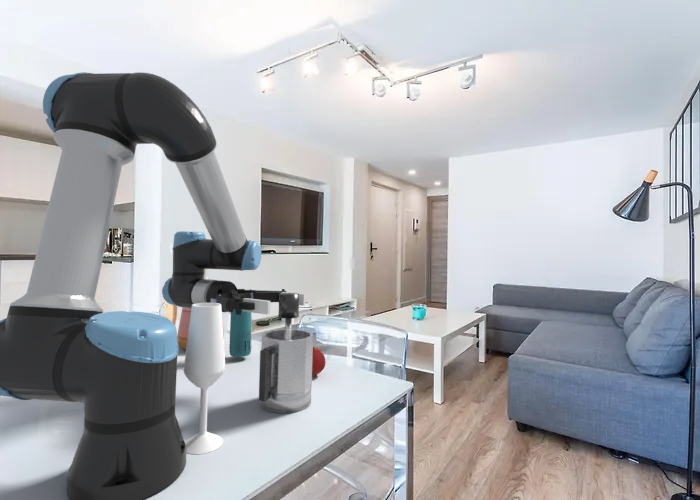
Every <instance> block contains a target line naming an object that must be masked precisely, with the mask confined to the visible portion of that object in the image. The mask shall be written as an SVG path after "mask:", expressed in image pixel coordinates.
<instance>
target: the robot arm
mask: <svg viewBox="0 0 700 500" xmlns="http://www.w3.org/2000/svg"><path fill="white" fill-rule="evenodd" d="M42 112H43V114H44V115H46V116H47V118H46V119H45V121H46V123H47V124H46V125H47V126H48V128H49V129H50V131H52V133H53V141H54V142H55V143H56V144H57V145H58V146H59V148H60V149H61V153H60V157H59V161H58V164H57V165H58V166H57V170H56V173H55V178H54V182H53V185H52V190H51V193H50V198H49V202H48V205H47V209H46V214H45V218H44V222H43V225H42V230H41V233H40V239H39V241H38V246H37V250H36V254H35V257H34V262H33V266H32V269H31V274H30V278H29V283H28V287H27V290H26V293H25V294H24V295H23V296H21V297H20V298H18V299H16V300H14V301H13V302H12V301H11V303H10V304H9V307H8V311H7V315H6V318H3V319H1V320H0V396H3V397H9V398H13V399H16V400H20V401H28V400H37V401H38V400H41V401H54V402H67V403H79V404H80V403H81V404H84V414H83V415H84V416H83V417H84V418H83V420H84V421H83V432H82V435H81V438H80V439H79V442H78V444H77V448H76V450H75V453H74V456H73V458H72V462H71V463H70V466H69V468H68V471H67V475H66V495H67V497H68V499H69V500H143V499H146V498H148V497H150V496H153V495H155V494H157V493H159V492H160V491H162V490H165V489H166V488H167V487H168V486H170V485H172V484H173V483H174V482H175V481H177V479H179V477H180V476H181V474H183V472H184V470H185V467H186V465H187V453H186V445H185V440H184V438H183V434H182V431H181V427H180V424H179V421H178V419H177V415H176V396H177V376H178V375H177V372H178V355H179V348H180V347H179V345H178V343H177V334H178V329H177V327H176V325H175V323H173V321H172V320H171V319H170V318H168V317H165V316H162V315H160V314H156V313H150V312H145V311H123V310H118V311H117V310H115V311H106V312H104V309H103V308H102V306H100V305H99V303H98V302H97V301H96V293H97V288H98V283H99V279H100V273H101V268H102V263H103V259H104V254H105V250H106V245H107V240H108V235H109V230H110V226H111V221H112V216H113V215H112V214H113V211H114V206H115V202H116V197H117V192H118V187H119V182H120V176H121V172H122V167H124V166H125V165H127V164H129V163H132V162H133V160H134V157H135V153H136V148H137V145H140V144H141V145H145V144H147V145H148V144H149V145H150V144H153V145H156V146H158V147H159V148H160V149H161V150H162V152H163V153H164V156H165V157H166V159H167V160H168V161H169V162H171V163H174V164H175V165H176V168H177V169H178V172H179V174H180V176H181V178H182V180H183V182H184V184H185V186H186V188H187V191H188V192H189V195H190V196H191V199H192V201H193V203H194V205H195V207H196V209H197V211H198V213H199V215H200V217H201V220H202V221H203V223H204V226H205V227H206V230H207V232H208V234H209V236H210V238H211V239H208V238H206V234H205V232H203V231H202V232H201V231H185V230H184V231H183V230H182V231H180V230H179V231H176V232H175V233H174V235H173V243H172V244H173V245H172V275H171V277H169V278H168V279H167V280H166V281H165V282H164V284H163V287H162V289H161V293H162V298H163V300H164V301H165V302H166V303H168V304H169V305H171V306H177V307H179V308H182V307H189V308H192V305H193V304H197V303H220V304H221V308H222V313H231V312H233V309H235V311H236V315H240V314H241V310H242V309H243V311H244V312H251V314H262V315H271V303H279V294H280V293H289V292H287V290H285V288H281V290H261V289H260V290H259V289H258V290H256V289H245V288H238V287H237V286H236V285H235V283H234V282H232V281H230V280H217V279H209V278H208V279H204V269H208V270H223V271H224V270H227V271H241V272H242V271H243V272H244V271H255V270H257V269H258V268H259V267H260V265H261V261H262V248H261V247H262V246H261V245H260V243H259V242H258V241H256V240H251V239H249V240H248V239H247V236H246V234H245V232H244V229H243V226H242V222H241V221H240V217H239V215H238V212H237V209H236V207H235V205H234V201H233V199H232V196H231V193H230V191H229V188H228V186H227V183H226V179H225V177H224V175H223V172H222V170H221V167H220V164H219V161H218V158H217V155H216V153H215V150H216V148H217V145H218V143H217V140H216V137H215V135H214V132H213V129H212V126H211V125H210V124H209V122H208V120H207V117H206V116H205V115H204V114H203V112H202V110H201V109H200V108H199V106H198V105H197V104H196V103H195V102H194V100H192V98H190V97H189V95H188V94H187V93H186V92H184V91H183V90H182V89H181V88H179V87H178V86H177V85H176V84H174V83H173V82H171V81H170V80H167V79H166V78H164V77H162V76H159V75H156V74H154V73H150V72H141V71H140V72H125V73H124V72H121V73H119V72H118V73H116V72H115V73H113V72H112V73H109V72H108V73H106V72H105V73H93V72H86V71H85V72H83V71H82V72H76V73H73V74H65V75H61V76H59V77H57V78H55V79H54V80H52V81H51V82H50V83H49V85H48V86H47V87H46V90H45V92H44V94H43V99H42ZM298 294H299V306H302V307H304V306H306V293H300V292H299V293H298Z"/></svg>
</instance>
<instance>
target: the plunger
mask: <svg viewBox="0 0 700 500" xmlns="http://www.w3.org/2000/svg"><path fill="white" fill-rule="evenodd" d="M299 294H300V293H299ZM299 294H298V293H296V292H288V293H280V294H279V302H278V315H277V316H278V318H281V319H284V329H285V340H291V329H292V323H293V322H292V321H293V319H297V318H299V317H300V316H299V315H300V313H299V312H300V311H299V310H300V305H299Z"/></svg>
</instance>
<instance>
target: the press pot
mask: <svg viewBox="0 0 700 500" xmlns="http://www.w3.org/2000/svg"><path fill="white" fill-rule="evenodd" d="M260 345H261V349H260V351H259V352H260V353H259V377H258V378H259V383H258V401H259V402H260V403H259V404H260V407H261V408H262V409H263V410H265V411H266V412H270V413H274V414H293V413H298V412H301V411H303V410H306V409H307V408H309V407H310V405H311V404H312V383H313V382H312V381H313V375H312V358H313V347H314V333H313V332H311V331H308V330H304V329H297V328H295V329H294V328H291V340H285V328H282V329H273V330H269V331H266V332H263V333H262V335H261V344H260Z"/></svg>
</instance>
